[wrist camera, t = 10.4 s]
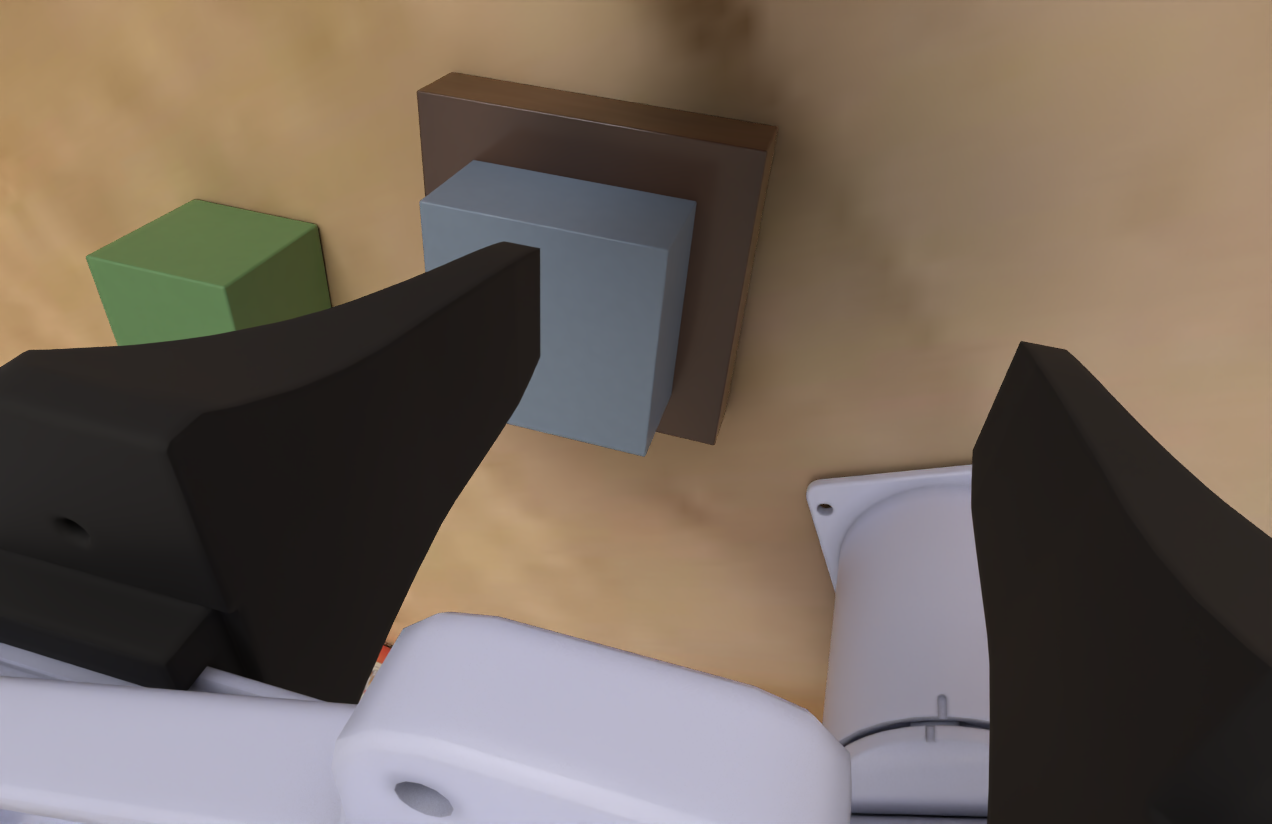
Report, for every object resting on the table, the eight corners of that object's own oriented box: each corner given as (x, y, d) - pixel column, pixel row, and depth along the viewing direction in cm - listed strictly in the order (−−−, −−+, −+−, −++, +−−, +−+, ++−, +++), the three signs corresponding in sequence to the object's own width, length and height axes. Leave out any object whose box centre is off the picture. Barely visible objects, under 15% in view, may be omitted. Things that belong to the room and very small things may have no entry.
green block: (318, 224, 26) (223, 287, 23) (338, 343, 29) (257, 418, 25) (194, 197, 27) (83, 255, 23) (225, 317, 30) (130, 385, 26)
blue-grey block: (697, 201, 20) (668, 250, 18) (671, 395, 24) (645, 457, 21) (473, 159, 21) (418, 201, 19) (481, 351, 25) (435, 406, 22)
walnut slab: (778, 126, 21) (768, 151, 19) (726, 408, 26) (714, 446, 24) (450, 71, 22) (415, 90, 20) (465, 349, 27) (439, 381, 26)
